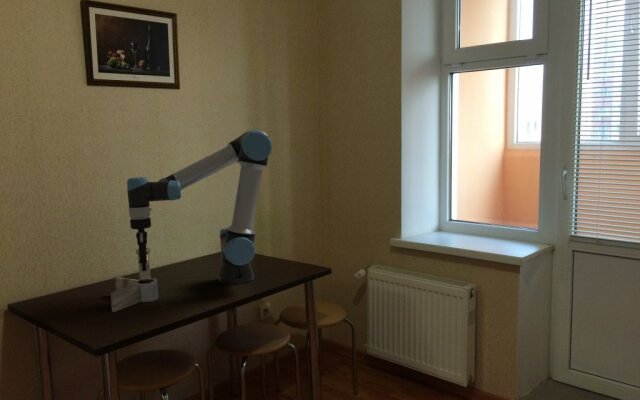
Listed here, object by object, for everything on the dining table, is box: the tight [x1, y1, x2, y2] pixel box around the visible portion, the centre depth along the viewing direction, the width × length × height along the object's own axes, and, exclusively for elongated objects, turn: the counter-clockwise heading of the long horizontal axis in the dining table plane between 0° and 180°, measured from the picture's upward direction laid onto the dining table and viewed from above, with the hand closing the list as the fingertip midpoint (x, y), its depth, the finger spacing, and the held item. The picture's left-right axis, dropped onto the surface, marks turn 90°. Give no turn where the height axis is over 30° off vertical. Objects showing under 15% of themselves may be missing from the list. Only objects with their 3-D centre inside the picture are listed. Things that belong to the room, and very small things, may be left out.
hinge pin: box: [135, 247, 152, 284], centre depth 202 cm, size 5×5×17 cm
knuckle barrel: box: [134, 277, 159, 303], centre depth 203 cm, size 8×8×7 cm
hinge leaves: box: [110, 276, 141, 313], centre depth 200 cm, size 17×17×7 cm
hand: (145, 277), depth 203 cm, fingers closed on hinge pin, 4 cm apart
